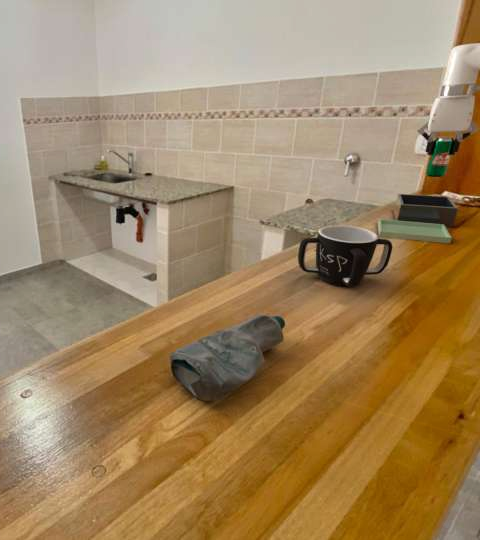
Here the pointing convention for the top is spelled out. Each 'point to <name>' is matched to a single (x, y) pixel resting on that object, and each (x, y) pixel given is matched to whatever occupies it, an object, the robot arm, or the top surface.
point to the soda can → (440, 156)
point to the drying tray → (414, 231)
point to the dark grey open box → (425, 209)
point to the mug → (344, 254)
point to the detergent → (226, 356)
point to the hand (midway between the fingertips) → (440, 154)
